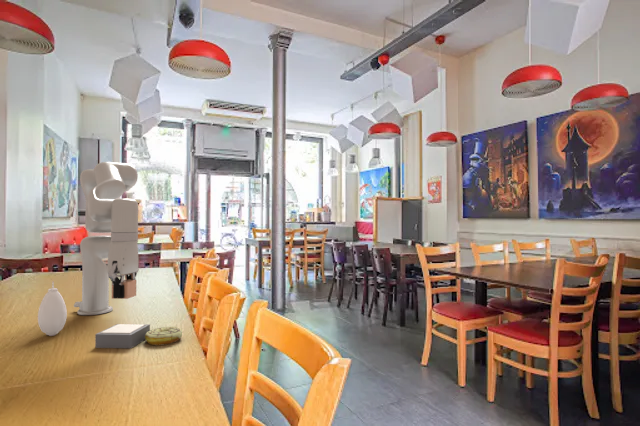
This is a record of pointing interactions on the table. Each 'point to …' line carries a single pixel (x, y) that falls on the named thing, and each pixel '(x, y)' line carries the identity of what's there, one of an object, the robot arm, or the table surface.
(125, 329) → the grey flat square block
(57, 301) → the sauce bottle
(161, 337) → the decorated donut
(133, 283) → the terracotta cube
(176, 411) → the table surface
